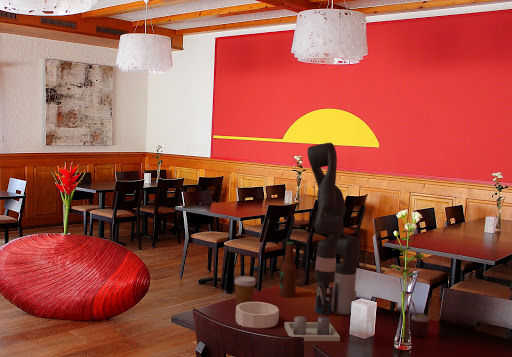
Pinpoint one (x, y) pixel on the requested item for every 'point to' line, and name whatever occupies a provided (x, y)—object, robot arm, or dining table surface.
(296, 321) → the grey cylinder
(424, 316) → the mate gourd
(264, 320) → the bowl
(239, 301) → the disposable coffee cup
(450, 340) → the dining table surface
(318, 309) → the soda can
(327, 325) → the grey cylinder
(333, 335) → the tray
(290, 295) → the bottle
